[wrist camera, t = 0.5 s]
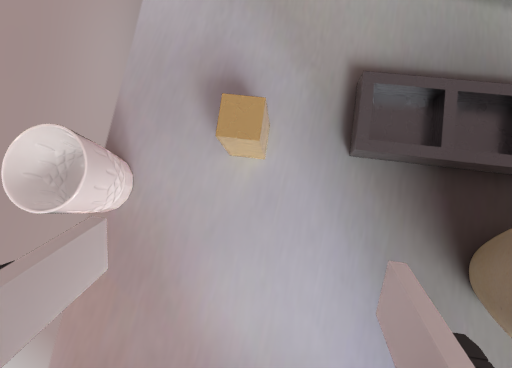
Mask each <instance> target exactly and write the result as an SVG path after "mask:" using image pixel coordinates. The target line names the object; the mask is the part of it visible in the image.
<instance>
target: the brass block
mask: <svg viewBox="0 0 512 368" xmlns="http://www.w3.org/2000/svg"><path fill="white" fill-rule="evenodd" d="M269 127H270V124H269V117H268V110H267V103H266V98H264V97H254V96H244V95H234V94H224V93H222V98H221V104H220V110H219V117H218V123H217V129H216V137H217V139H218V140H219V141H220V142H221V144H222V145H223V146H224V148H225V149H226V150H227V152H228V153H229V154H230V155H232V156H240V157H249V158H257V159H265V156H266V148H267V141H268V134H269Z"/></svg>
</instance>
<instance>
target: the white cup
mask: <svg viewBox="0 0 512 368" xmlns="http://www.w3.org/2000/svg"><path fill="white" fill-rule="evenodd" d="M1 180H2V185H3V188H4V190H5V192H6V194H7V196H8V198H9V199H10V200H11V201H12V202H13V203H14V204H15V205H16V206H18V207H19V208H21V209H23V210H25V211H28V212H31V213H38V214H40V213H41V214H44V213H45V214H46V213H92V212H107V211H110V210H114V209H117V208H119V207H120V206H121V205H122V204H123V203H124V202H125V201H126V200H127V199H128V197H129V195H130V193H131V191H132V188H133V174H132V172H131V170H130V168H129V166H128V164H127V163H126V162H125V161H124V160H122V159H121V158H119V157H118V156H116V155H114V154H113V153H112V152H110V151H109V150H107V149H105V148H103V147H101V146H100V145H98V144H96V143H94V142H93V141H91V140H89V139H87V138H85V137H83V136H81V135H79V134H77V133H75V132H74V131H72V130H70V129H68V128H66V127H64V126H61V125H58V124H40V125H36V126H33V127H31V128H29V129H27V130H25V131H24V132H22V133H21V134H20V135H18V136H17V137H16V138H15V139H14V140H13V142H12V143H11V144H10V146H9V148H8V149H7V151H6V153H5V155H4V158H3V162H2V167H1Z"/></svg>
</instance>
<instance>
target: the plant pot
mask: <svg viewBox="0 0 512 368" xmlns="http://www.w3.org/2000/svg"><path fill="white" fill-rule="evenodd" d="M469 278H470V283H471V286H472V288H473V290H474V292H475V294H476V295H477V297H478V298H479V300H480V301H481V303H482V304H483V305H484V307H485V308H486V310H487V311H488V312H489V313H490V315H491V316H492V317H493V318H494V319H495V321H496V322H497V323H498V324H499V325H500V326H501V327H502V328H503V330H504V331H505V332H506V333H507V334H508V335H509V336H510V337H511V338H512V228H511V229H509V230H507V231H505V232H503V233H501V234H499V235H498V236H496V237H494V238H492V239H491V240H489V241H488V242H486V243H485V244H483V245H482V246H481V247H480V248H479V249H478V250H477V251H476V252H475V253H474V255H473V257H472V259H471V262H470V266H469Z"/></svg>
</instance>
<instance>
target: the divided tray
mask: <svg viewBox="0 0 512 368" xmlns="http://www.w3.org/2000/svg"><path fill="white" fill-rule="evenodd" d="M350 156H354V157H363V158H371V159H380V160H389V161H397V162H406V163H415V164H423V165H432V166H441V167H449V168H458V169H467V170H475V171H484V172H493V173H501V174H510V175H512V84H504V83H493V82H482V81H471V80H459V79H448V78H437V77H425V76H414V75H403V74H391V73H380V72H369V71H363V73H362V75H361V77H360V79H359V81H358V83H357V91H356V101H355V110H354V119H353V128H352V138H351V147H350Z"/></svg>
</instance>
